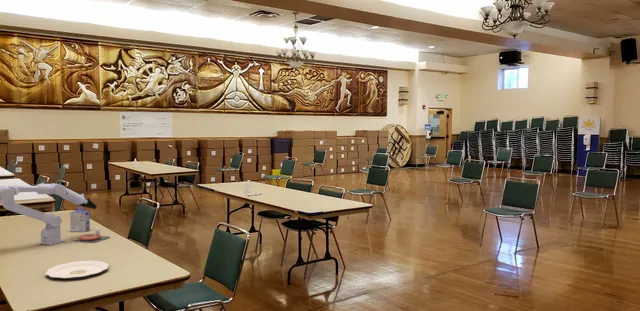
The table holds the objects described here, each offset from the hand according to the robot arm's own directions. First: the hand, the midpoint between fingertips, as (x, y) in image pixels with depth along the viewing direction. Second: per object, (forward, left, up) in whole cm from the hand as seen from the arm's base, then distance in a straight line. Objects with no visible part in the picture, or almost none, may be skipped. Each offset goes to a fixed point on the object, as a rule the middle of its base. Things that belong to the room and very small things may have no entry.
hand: (92, 206), depth 282 cm
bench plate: (-8, -6, -17) cm, 20 cm away
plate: (-59, -45, -18) cm, 76 cm away
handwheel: (-9, -6, -16) cm, 19 cm away
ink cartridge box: (+8, +17, -18) cm, 26 cm away
